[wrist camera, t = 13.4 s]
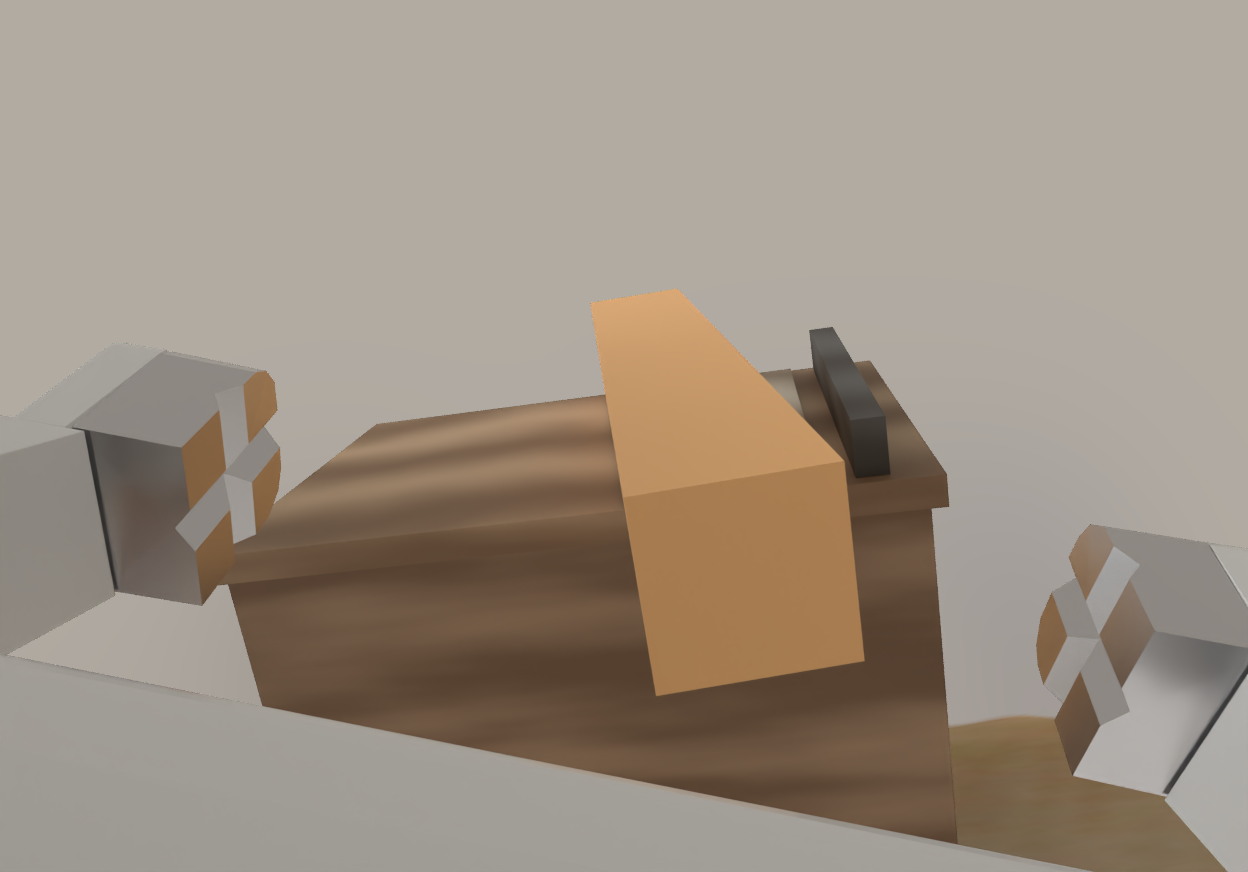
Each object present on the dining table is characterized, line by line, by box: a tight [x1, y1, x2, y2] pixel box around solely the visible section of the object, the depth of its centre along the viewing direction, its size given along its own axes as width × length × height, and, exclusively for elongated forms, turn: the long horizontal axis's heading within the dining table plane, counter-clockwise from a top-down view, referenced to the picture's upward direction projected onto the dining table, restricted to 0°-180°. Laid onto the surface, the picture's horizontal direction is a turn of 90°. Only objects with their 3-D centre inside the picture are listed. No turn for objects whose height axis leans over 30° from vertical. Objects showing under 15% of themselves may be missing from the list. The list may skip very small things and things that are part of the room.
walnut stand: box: [218, 327, 957, 844], centre depth 41 cm, size 16×23×28 cm
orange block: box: [590, 289, 865, 696], centre depth 32 cm, size 28×4×4 cm, turn 3°
